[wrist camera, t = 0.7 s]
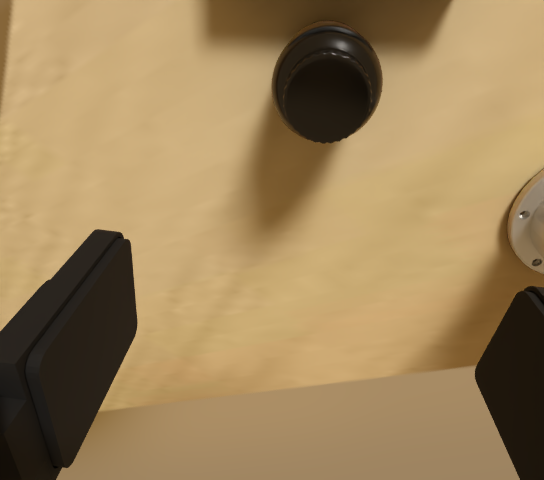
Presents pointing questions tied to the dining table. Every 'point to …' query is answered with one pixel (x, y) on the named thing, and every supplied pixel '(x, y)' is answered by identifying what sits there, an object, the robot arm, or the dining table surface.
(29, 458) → the robot arm
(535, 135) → the dining table surface
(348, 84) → the supplement bottle
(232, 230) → the dining table surface
